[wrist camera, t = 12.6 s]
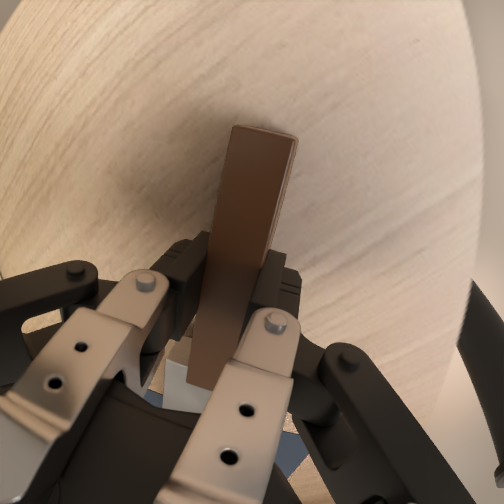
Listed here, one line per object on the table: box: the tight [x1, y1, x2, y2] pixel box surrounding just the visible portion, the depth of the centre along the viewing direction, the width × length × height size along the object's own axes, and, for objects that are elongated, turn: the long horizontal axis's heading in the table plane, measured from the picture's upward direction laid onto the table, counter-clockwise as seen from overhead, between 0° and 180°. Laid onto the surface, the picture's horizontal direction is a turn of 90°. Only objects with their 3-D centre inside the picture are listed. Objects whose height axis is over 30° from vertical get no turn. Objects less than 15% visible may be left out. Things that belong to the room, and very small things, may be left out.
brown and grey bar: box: [162, 125, 299, 413], centre depth 13 cm, size 18×4×3 cm, turn 169°
